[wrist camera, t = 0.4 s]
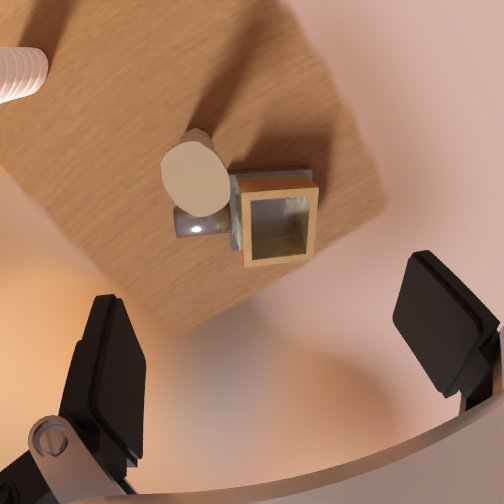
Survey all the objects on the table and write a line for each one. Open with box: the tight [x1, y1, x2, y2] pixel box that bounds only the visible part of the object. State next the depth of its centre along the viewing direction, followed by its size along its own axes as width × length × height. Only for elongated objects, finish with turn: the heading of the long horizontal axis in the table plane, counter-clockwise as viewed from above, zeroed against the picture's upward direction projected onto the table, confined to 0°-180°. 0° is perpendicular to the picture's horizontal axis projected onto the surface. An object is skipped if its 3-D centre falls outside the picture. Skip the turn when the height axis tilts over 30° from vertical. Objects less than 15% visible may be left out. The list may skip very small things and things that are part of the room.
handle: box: [161, 128, 230, 217], centre depth 30 cm, size 5×6×15 cm
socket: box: [174, 166, 319, 268], centre depth 40 cm, size 11×18×6 cm, turn 91°
